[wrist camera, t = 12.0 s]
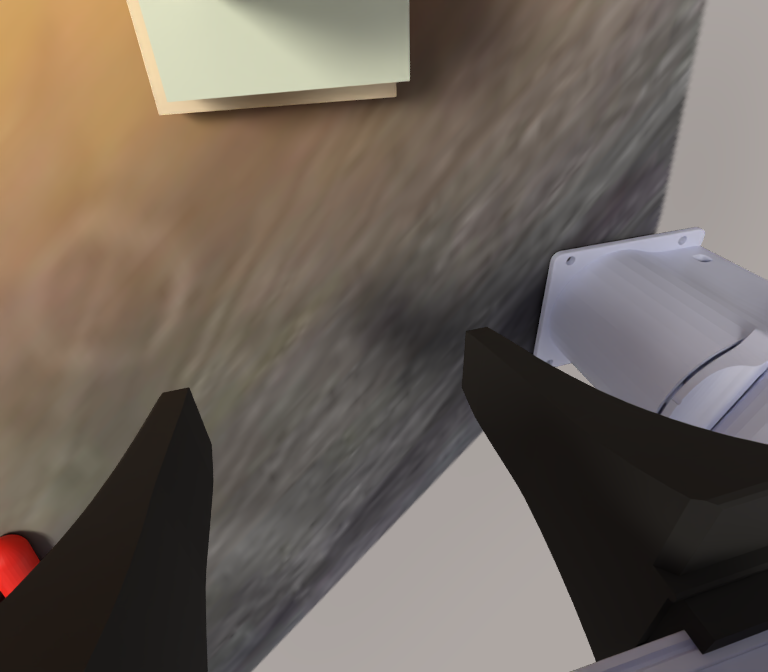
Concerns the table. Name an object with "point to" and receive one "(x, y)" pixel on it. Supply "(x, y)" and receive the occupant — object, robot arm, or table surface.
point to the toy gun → (14, 562)
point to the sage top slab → (275, 45)
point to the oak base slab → (247, 100)
